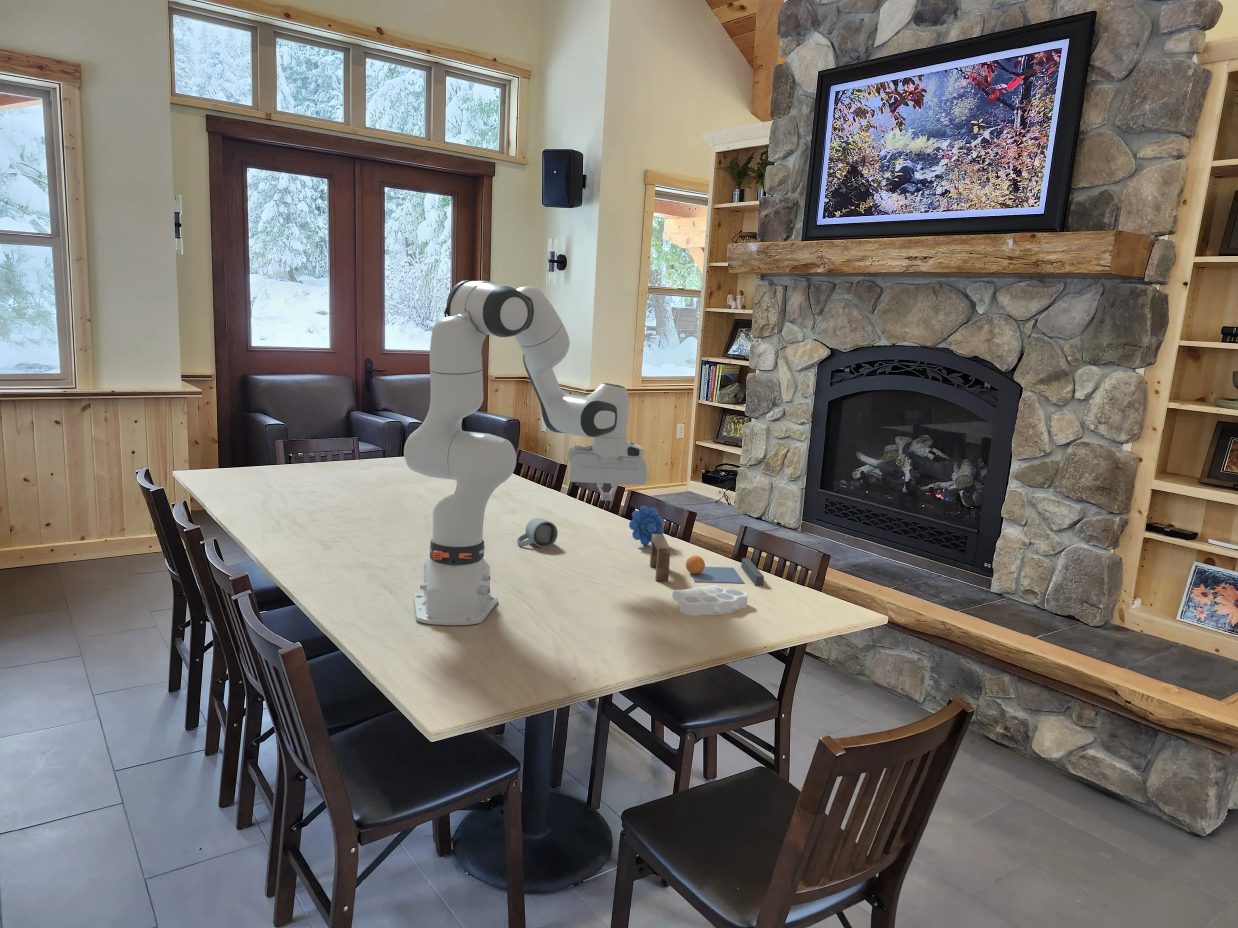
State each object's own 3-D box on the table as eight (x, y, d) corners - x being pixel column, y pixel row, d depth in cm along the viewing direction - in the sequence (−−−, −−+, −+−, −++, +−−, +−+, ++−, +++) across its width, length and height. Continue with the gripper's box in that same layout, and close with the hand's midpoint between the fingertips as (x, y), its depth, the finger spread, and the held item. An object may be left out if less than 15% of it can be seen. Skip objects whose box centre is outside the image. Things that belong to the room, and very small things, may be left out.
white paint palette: (720, 593, 208) (759, 612, 196) (660, 602, 199) (697, 623, 187) (721, 580, 208) (760, 599, 195) (661, 588, 198) (698, 608, 186)
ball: (704, 557, 218) (685, 560, 217) (707, 575, 219) (688, 578, 219) (701, 551, 222) (683, 554, 222) (704, 568, 224) (686, 572, 223)
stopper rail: (762, 585, 215) (763, 576, 214) (755, 585, 214) (756, 576, 214) (748, 567, 230) (749, 558, 230) (741, 566, 230) (741, 558, 230)
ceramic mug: (546, 539, 246) (547, 514, 244) (557, 546, 239) (558, 520, 237) (512, 542, 241) (513, 516, 240) (522, 550, 234) (523, 523, 232)
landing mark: (744, 583, 216) (744, 582, 216) (694, 581, 214) (694, 581, 214) (733, 568, 228) (733, 567, 228) (686, 566, 227) (686, 565, 227)
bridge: (660, 565, 227) (662, 534, 225) (668, 581, 213) (670, 548, 212) (649, 564, 227) (651, 533, 225) (656, 581, 213) (658, 548, 211)
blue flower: (635, 550, 240) (637, 509, 238) (624, 544, 246) (626, 504, 244) (669, 547, 245) (672, 507, 243) (658, 541, 251) (661, 502, 249)
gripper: (568, 447, 209) (566, 501, 211) (650, 450, 211) (646, 504, 213) (568, 443, 215) (565, 495, 217) (647, 446, 217) (643, 498, 219)
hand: (606, 499), depth 215 cm, fingers closed
